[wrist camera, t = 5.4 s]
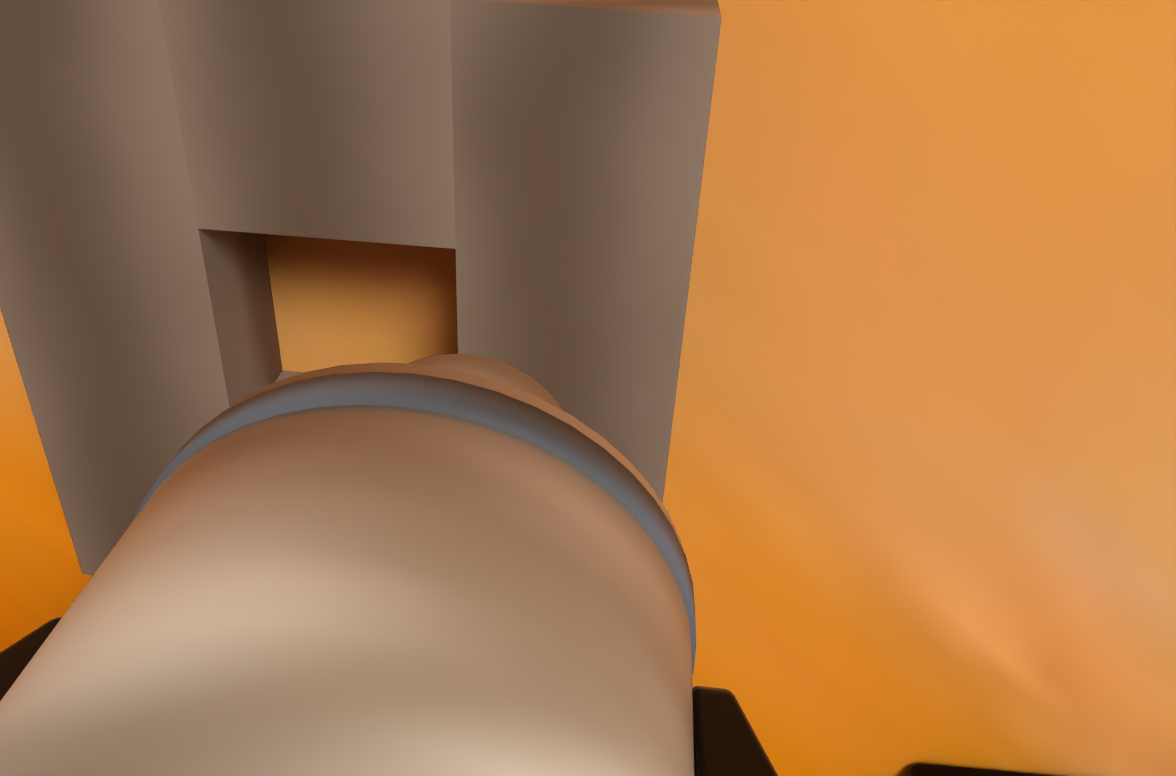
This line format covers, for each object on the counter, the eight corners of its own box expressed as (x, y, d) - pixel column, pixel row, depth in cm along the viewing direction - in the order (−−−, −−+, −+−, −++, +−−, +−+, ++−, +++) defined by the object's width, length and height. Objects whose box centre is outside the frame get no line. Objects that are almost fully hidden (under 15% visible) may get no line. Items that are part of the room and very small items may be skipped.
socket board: (713, -14, 18) (721, 17, 16) (649, 542, 26) (647, 624, 23) (-2, -63, 19) (-108, -42, 16) (140, 498, 26) (82, 574, 23)
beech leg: (720, 269, 11) (866, 1506, 3) (660, 627, 15) (654, 1702, 6) (222, 219, 12) (-902, 1286, 3) (271, 585, 15) (-230, 1588, 7)
